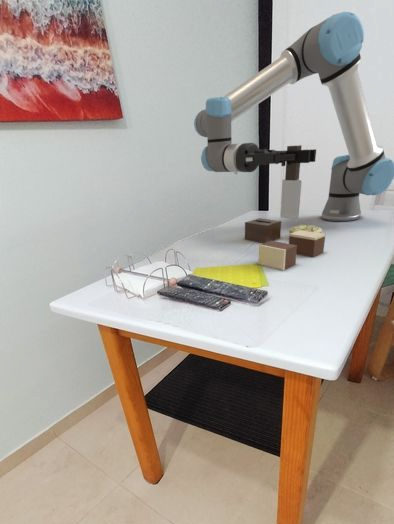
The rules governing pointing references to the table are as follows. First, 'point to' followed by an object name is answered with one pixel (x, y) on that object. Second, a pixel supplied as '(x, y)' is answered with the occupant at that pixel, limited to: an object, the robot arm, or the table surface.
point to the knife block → (262, 230)
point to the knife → (291, 188)
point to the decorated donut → (305, 228)
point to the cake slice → (277, 255)
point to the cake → (308, 242)
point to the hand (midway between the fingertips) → (311, 156)
